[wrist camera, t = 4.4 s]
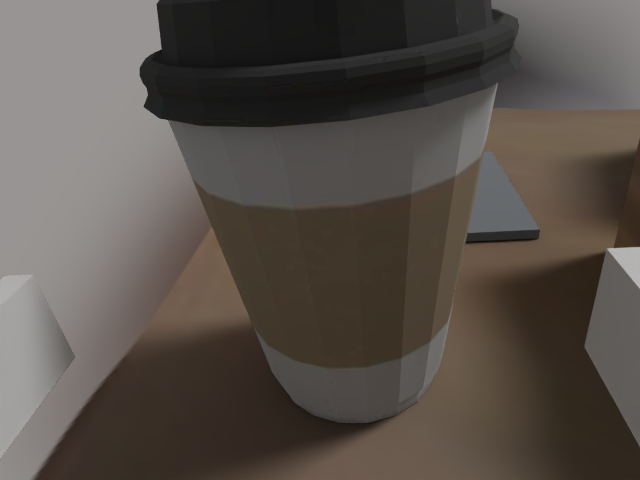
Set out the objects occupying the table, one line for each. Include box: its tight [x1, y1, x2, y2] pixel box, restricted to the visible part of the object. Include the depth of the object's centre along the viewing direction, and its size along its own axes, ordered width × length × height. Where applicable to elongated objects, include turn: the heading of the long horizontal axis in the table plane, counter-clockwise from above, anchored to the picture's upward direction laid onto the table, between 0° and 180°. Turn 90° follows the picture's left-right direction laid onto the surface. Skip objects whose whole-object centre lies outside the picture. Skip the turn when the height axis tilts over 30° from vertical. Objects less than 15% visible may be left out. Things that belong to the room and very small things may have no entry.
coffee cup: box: [140, 0, 521, 423], centre depth 17 cm, size 11×11×15 cm
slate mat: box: [466, 151, 540, 242], centre depth 34 cm, size 13×13×1 cm
